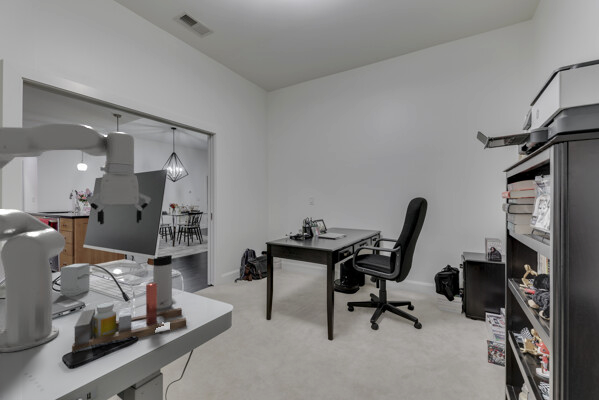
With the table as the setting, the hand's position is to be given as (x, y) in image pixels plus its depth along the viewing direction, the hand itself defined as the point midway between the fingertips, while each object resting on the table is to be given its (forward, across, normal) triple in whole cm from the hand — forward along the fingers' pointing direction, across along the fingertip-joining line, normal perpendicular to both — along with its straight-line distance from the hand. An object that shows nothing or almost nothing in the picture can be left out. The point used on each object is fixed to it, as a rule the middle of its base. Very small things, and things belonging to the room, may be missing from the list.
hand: (120, 223), depth 84 cm
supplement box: (+34, -19, +51) cm, 64 cm away
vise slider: (+33, +6, -6) cm, 34 cm away
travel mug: (+34, +13, +9) cm, 37 cm away
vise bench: (+33, +4, -6) cm, 34 cm away
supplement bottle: (+34, -4, -6) cm, 34 cm away
